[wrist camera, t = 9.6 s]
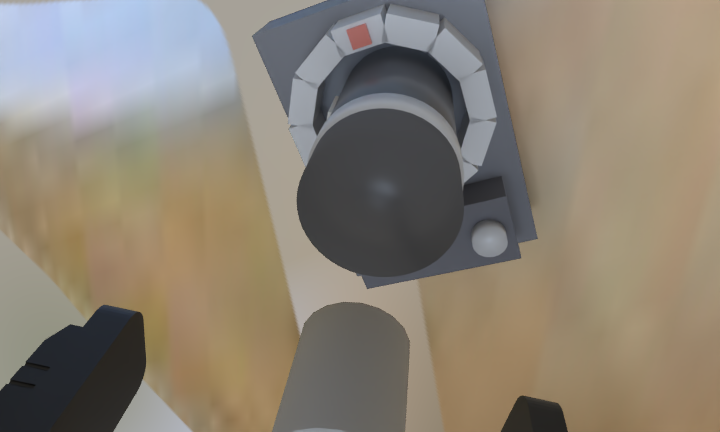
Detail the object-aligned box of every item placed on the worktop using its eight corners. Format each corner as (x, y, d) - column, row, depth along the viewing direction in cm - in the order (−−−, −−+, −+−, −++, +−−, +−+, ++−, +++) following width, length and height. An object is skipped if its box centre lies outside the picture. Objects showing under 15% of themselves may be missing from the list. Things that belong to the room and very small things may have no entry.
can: (338, 382, 40) (304, 552, 29) (283, 313, 36) (225, 476, 26) (429, 355, 37) (426, 532, 27) (378, 278, 34) (354, 445, 24)
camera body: (529, 209, 30) (547, 272, 25) (363, 246, 33) (350, 309, 28) (470, -53, 23) (479, -37, 18) (269, 21, 26) (231, 52, 21)
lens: (469, 59, 23) (492, 153, 14) (436, 164, 26) (439, 295, 17) (352, 30, 23) (305, 107, 14) (331, 139, 26) (282, 257, 17)
